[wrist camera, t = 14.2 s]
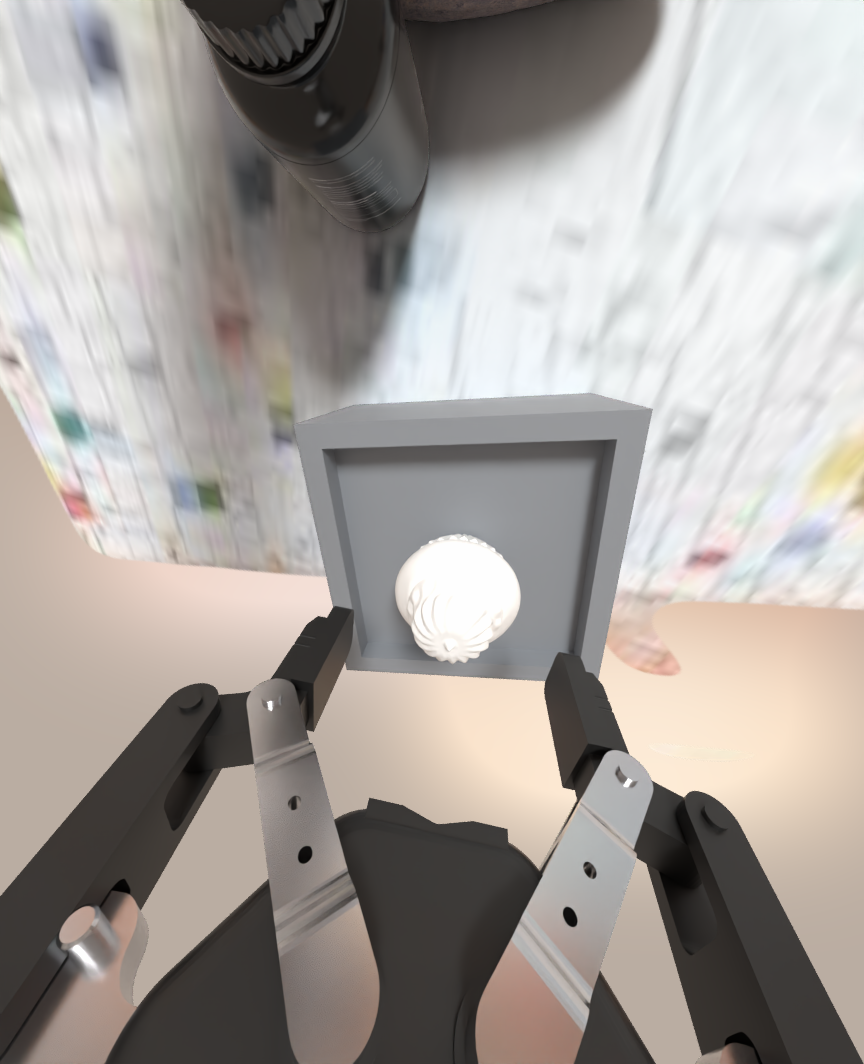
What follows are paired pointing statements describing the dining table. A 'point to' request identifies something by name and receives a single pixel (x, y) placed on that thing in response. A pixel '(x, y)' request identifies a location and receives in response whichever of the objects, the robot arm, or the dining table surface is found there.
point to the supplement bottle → (326, 97)
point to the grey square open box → (478, 516)
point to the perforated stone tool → (461, 8)
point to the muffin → (457, 596)
